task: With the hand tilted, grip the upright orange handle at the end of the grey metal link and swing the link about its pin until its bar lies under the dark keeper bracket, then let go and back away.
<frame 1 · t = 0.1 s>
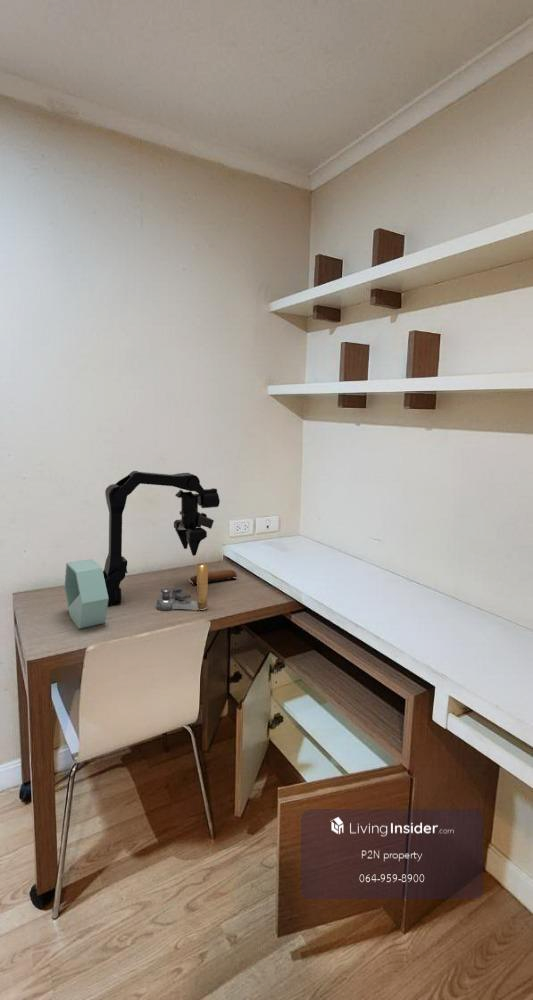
hand: (189, 552, 182), 15 cm above the table, tool pointing down, fingers open, 9 cm apart
keeper: (181, 603, 173), on the table
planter: (86, 620, 158), on the table
sunglasses case: (211, 581, 197), on the table
link: (182, 586, 167), point 8 cm above the table, hinge at 0.0°
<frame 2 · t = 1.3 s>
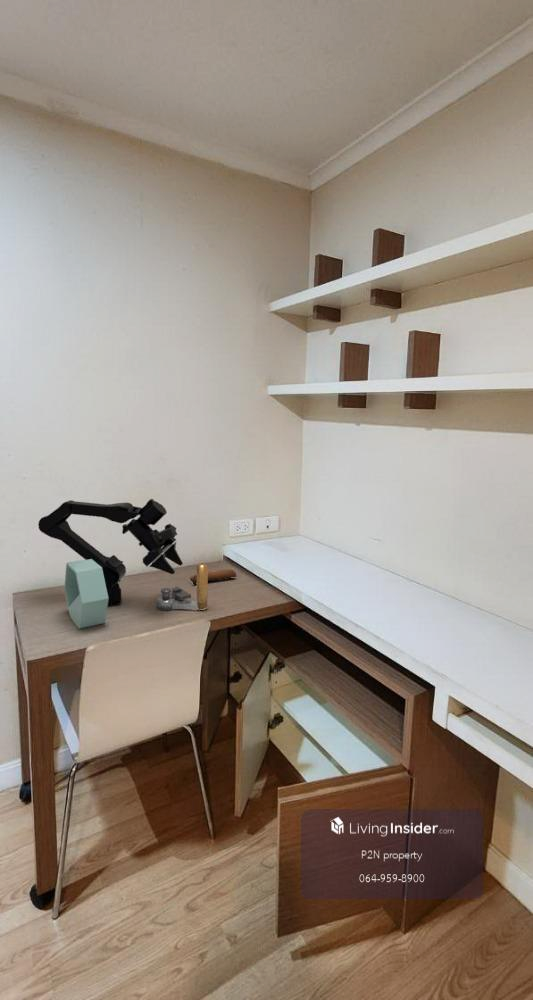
hand: (177, 568, 167), 13 cm above the table, tool tilted 45°, fingers open, 9 cm apart
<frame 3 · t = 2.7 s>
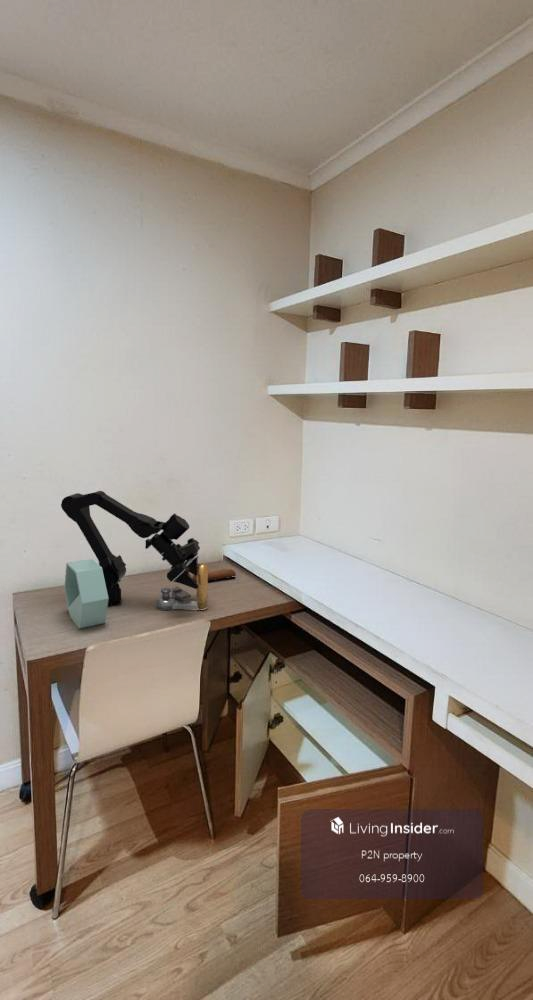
hand: (200, 583, 167), 9 cm above the table, tool tilted 45°, fingers open, 9 cm apart
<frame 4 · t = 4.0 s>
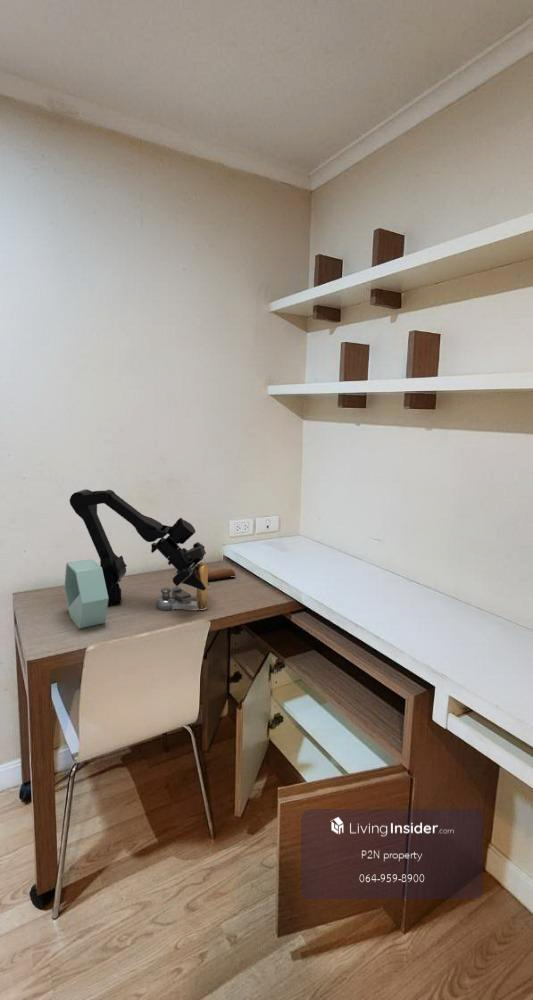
hand: (206, 587, 167), 8 cm above the table, tool tilted 45°, fingers closed on link, 3 cm apart
link: (182, 586, 167), point 8 cm above the table, hinge at 0.0°, touching gripper
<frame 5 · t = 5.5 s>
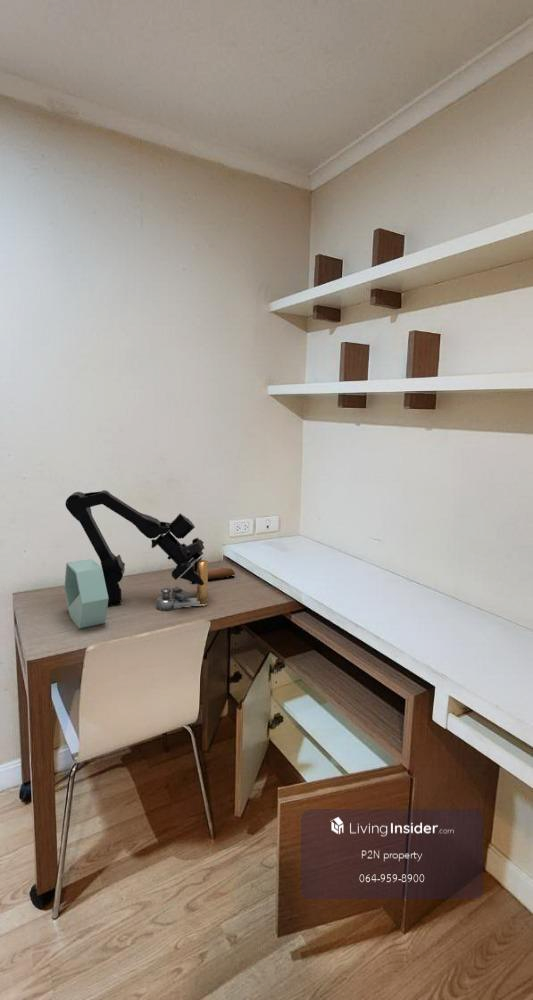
hand: (205, 581, 171), 8 cm above the table, tool tilted 45°, fingers open, 5 cm apart
link: (182, 584, 169), point 8 cm above the table, hinge at 17.3°, touching gripper
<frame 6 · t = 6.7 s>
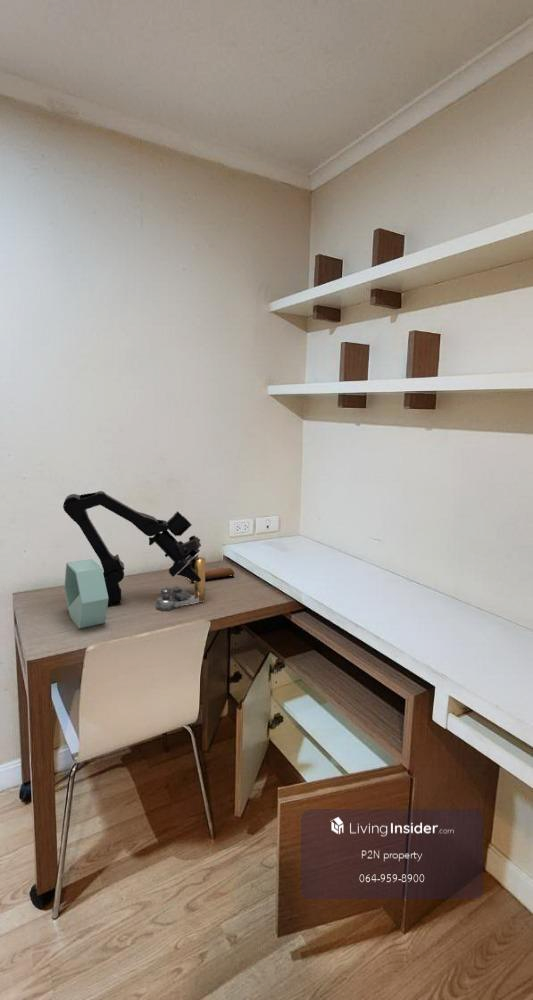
hand: (202, 578, 174), 8 cm above the table, tool tilted 45°, fingers open, 5 cm apart
link: (181, 582, 170), point 8 cm above the table, hinge at 32.6°, touching gripper
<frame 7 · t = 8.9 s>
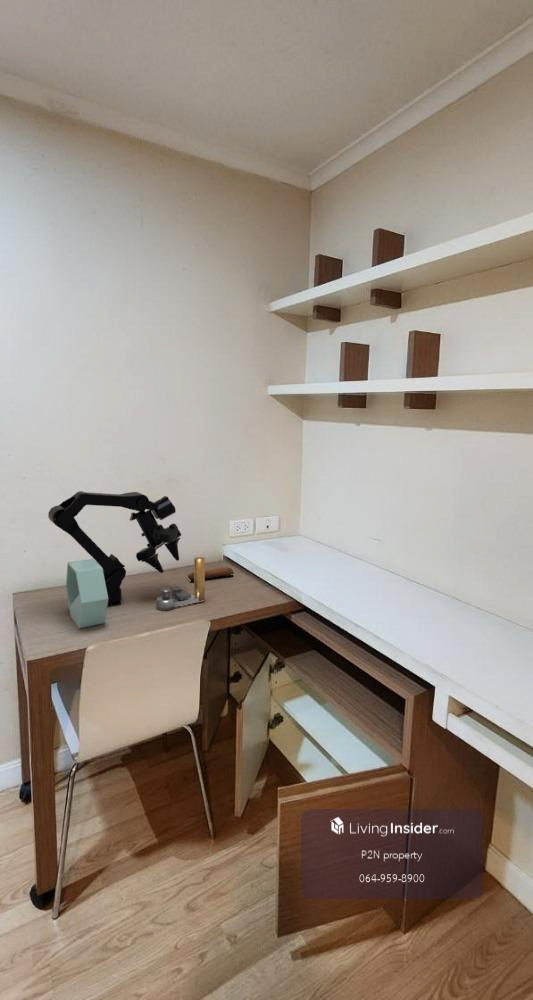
hand: (170, 566, 177), 11 cm above the table, tool tilted 25°, fingers open, 9 cm apart
link: (181, 582, 170), point 8 cm above the table, hinge at 33.5°
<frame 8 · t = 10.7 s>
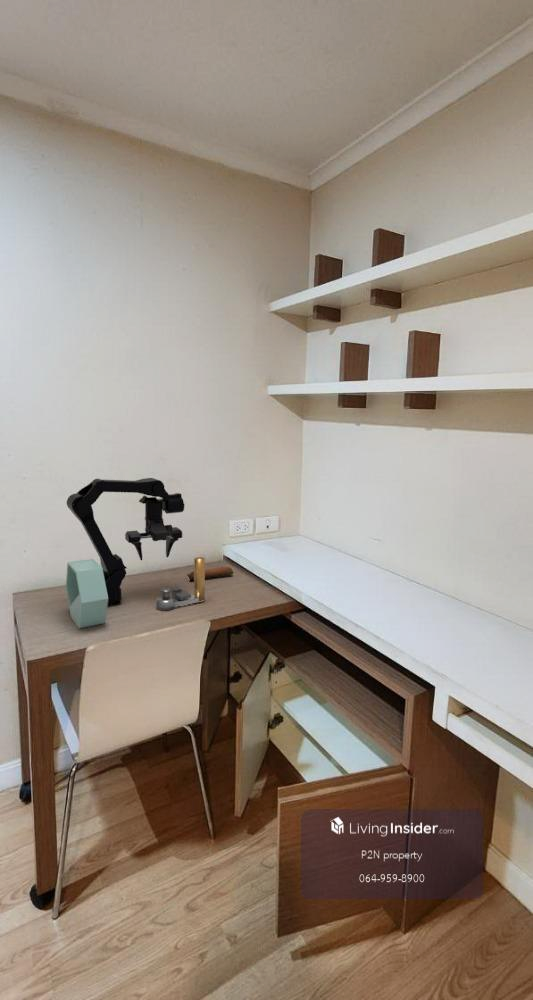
hand: (154, 558, 178), 13 cm above the table, tool pointing down, fingers open, 9 cm apart
at the end: link at +34° (first picture: +0°); the gripper is holding nothing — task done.
